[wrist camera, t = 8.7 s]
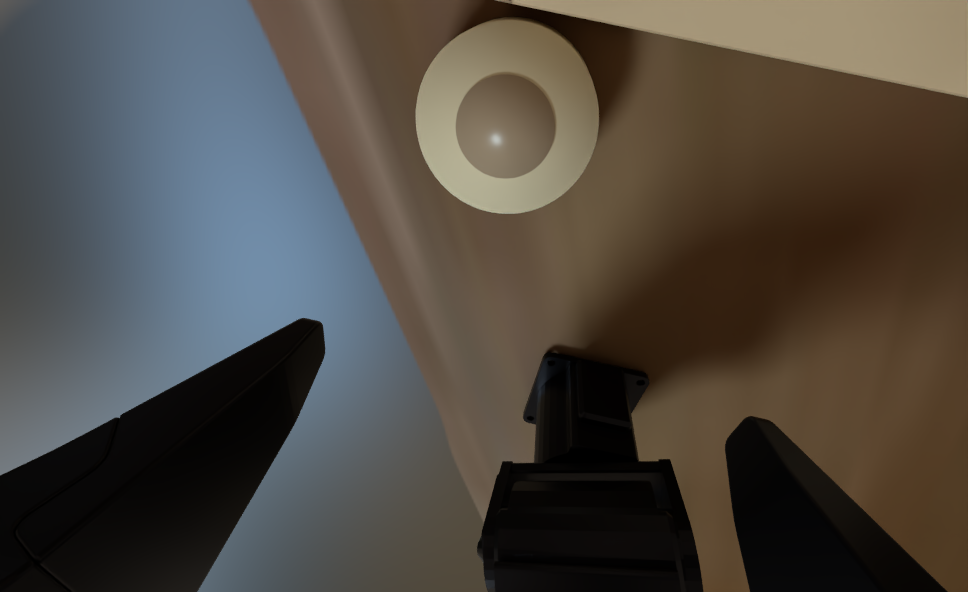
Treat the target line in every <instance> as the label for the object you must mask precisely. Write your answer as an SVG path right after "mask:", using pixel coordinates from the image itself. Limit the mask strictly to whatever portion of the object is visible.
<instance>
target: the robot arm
mask: <svg viewBox="0 0 968 592" xmlns="http://www.w3.org/2000/svg"><path fill="white" fill-rule="evenodd" d="M324 355H325V341H324V331H323V325H322V323H321V322H319V321H315V320H311V319H307V318H301V319H298V320H296V321H295V322H293V323H291V324H289V325H287V326H285V327H283V328H282V329H280V330H278V331H276V332H274V333H272V334H270V335H269V336H267V337H265V338H263V339H261V340H260V341H257V342H256V343H254V344H252V345H250V346H248V347H246V348H244V349H242V350H241V351H239V352H237V353H235V354H233V355H231V356H229V357H227V358H226V359H224V360H222V361H220V362H218V363H216V364H214V365H213V366H211V367H209V368H207V369H205V370H203V371H201V372H200V373H198V374H196V375H194V376H192V377H190V378H189V379H187V380H185V381H183V382H181V383H179V384H177V385H176V386H174V387H172V388H170V389H168V390H166V391H164V392H162V393H160V394H159V395H157V396H155V397H153V398H151V399H149V400H147V401H146V402H144V403H142V404H140V405H138V406H136V407H134V408H133V409H131V410H129V411H127V412H125V413H123V414H122V415H121V416H120V418H114V419H112V420H110V421H108V422H107V423H104V424H103V425H101V426H99V427H97V428H95V429H93V430H91V431H89V432H88V433H86V434H84V435H82V436H80V437H78V438H76V439H74V440H72V441H70V442H68V443H66V444H64V445H62V446H61V447H58V448H56V449H55V450H53V451H51V452H49V453H46V454H44V455H42V456H40V457H38V458H36V459H34V460H32V461H30V462H28V463H26V464H24V465H21V466H19V467H17V468H15V469H13V470H11V471H9V472H7V473H5V474H2V475H0V592H197V591H198V590H199V588H200V586H201V585H202V582H203V581H204V579H205V578H206V576H207V574H208V572H209V571H210V569H211V567H212V566H213V564H214V562H215V561H216V559H217V557H218V555H219V553H220V552H221V550H222V548H223V547H224V545H225V543H226V541H227V540H228V538H229V536H230V534H231V533H232V531H233V529H234V528H235V526H236V524H237V523H238V521H239V519H240V517H241V516H242V514H243V512H244V510H245V509H246V507H247V505H248V504H249V502H250V500H251V499H252V497H253V495H254V493H255V492H256V490H257V488H258V486H259V485H260V483H261V481H262V480H263V478H264V476H265V475H266V473H267V471H268V469H269V468H270V466H271V464H272V462H273V461H274V459H275V457H276V456H277V454H278V452H279V450H280V449H281V447H282V445H283V444H284V442H285V440H286V438H287V437H288V435H289V433H290V431H291V429H292V428H293V426H294V424H295V422H296V420H297V418H298V416H299V414H300V411H301V409H302V407H303V405H304V402H305V400H306V398H307V395H308V393H309V391H310V389H311V386H312V384H313V382H314V379H315V377H316V375H317V373H318V370H319V368H320V366H321V364H322V361H323V359H324ZM549 360H553V361H549ZM638 380H641V381H638ZM648 385H649V378H648V375H647V374H646V373H643V372H639V371H635V370H630V369H626V368H621V367H616V366H612V365H607V364H603V363H598V362H594V361H589V360H585V359H580V358H575V357H571V356H566V355H562V354H557V353H551V352H550V353H546V354H545V355H544V356H543V359H542V361H541V364H540V367H539V370H538V373H537V376H536V378H535V381H534V384H533V387H532V390H531V393H530V396H529V398H528V401H527V404H526V407H525V410H524V414H523V419H524V421H526V422H528V423H532V424H536V435H535V455H534V463H513V462H512V461H503V462H502V465H501V468H500V472H499V474H498V475H497V478H496V481H495V485H494V489H493V492H492V496H491V500H490V504H489V507H488V511H487V515H486V518H485V522H484V526H483V529H482V536H481V538H480V540H479V542H478V546H477V553H478V556H479V557H480V559H481V560H482V562H483V564H484V576H485V582H486V587H487V590H488V592H703V585H702V578H701V571H700V565H699V560H698V554H697V550H696V545H695V540H694V536H693V532H692V528H691V525H690V521H689V518H688V515H687V512H686V509H685V505H684V502H683V499H682V496H681V493H680V490H679V486H678V483H677V480H676V477H675V474H674V470H673V467H672V464H671V461H670V459H659V461H639V458H638V452H637V446H636V441H635V435H634V429H633V423H632V417H631V413H632V412H633V410H634V408H635V407H636V405H637V403H638V402H639V400H640V398H641V397H642V395H643V393H644V392H645V390H646V388H647V387H648ZM725 453H726V461H727V469H728V477H729V485H730V494H731V502H732V510H733V516H734V522H735V527H736V532H737V537H738V541H739V545H740V550H741V554H742V558H743V563H744V567H745V571H746V576H747V580H748V584H749V589H750V592H947V591H946V590H945V589H944V588H943V587H942V586H941V585H940V584H939V583H938V582H937V581H936V580H935V579H934V578H933V577H932V576H931V575H930V574H929V573H928V572H927V571H926V570H925V569H924V568H923V567H922V566H921V565H920V564H918V563H917V562H916V561H915V560H914V559H913V558H912V557H911V556H910V555H909V554H908V553H907V552H906V551H905V550H904V549H903V548H902V547H901V546H900V545H899V544H898V543H897V542H896V541H895V540H894V539H893V538H892V537H891V536H890V535H889V534H887V533H886V532H885V531H884V530H883V529H882V528H881V527H880V526H879V525H878V524H877V523H876V522H875V521H874V520H873V519H872V518H871V517H870V516H869V515H868V514H867V513H866V512H865V511H864V510H863V509H862V508H861V507H860V506H859V505H858V504H856V503H855V502H854V501H853V500H852V499H851V498H850V497H849V496H848V495H847V494H846V493H845V492H844V491H843V490H842V489H841V488H840V487H839V486H838V485H837V484H836V483H835V482H834V481H833V480H832V479H831V478H830V477H829V476H828V475H827V474H825V473H824V472H823V471H822V470H821V469H820V468H819V467H818V466H817V465H816V464H815V463H814V462H813V461H812V460H811V459H810V458H809V457H808V456H807V455H806V454H805V453H804V452H803V451H802V450H801V449H800V448H799V447H798V446H797V445H796V444H794V443H793V442H792V441H791V440H790V439H789V438H788V437H787V436H786V435H785V434H784V433H783V432H782V431H781V430H780V429H779V428H778V427H777V426H776V425H775V424H774V423H773V422H771V421H769V420H767V419H762V418H758V417H753V416H749V417H746V418H745V419H744V420H743V421H742V422H741V423H740V424H739V425H738V427H737V428H736V429H735V430H734V431H733V432H732V433H731V435H730V436H729V437H728V438H727V441H726V444H725Z"/></svg>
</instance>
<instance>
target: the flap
mask: <svg viewBox="0 0 968 592" xmlns="http://www.w3.org/2000/svg"><path fill="white" fill-rule="evenodd" d="M514 2H517V3H521V4H526V5H531V6H536V7H541V8H546V9H551V10H555V11H560V12H565V13H570V14H575V15H580V16H585V17H589V18H594V19H599V20H604V21H609V22H614V23H618V24H623V25H628V26H633V27H638V28H643V29H648V30H652V31H657V32H662V33H667V34H672V35H677V36H682V37H686V38H691V39H696V40H701V41H706V42H711V43H715V44H720V45H725V46H730V47H735V48H740V49H745V50H749V51H754V52H759V53H764V54H769V55H774V56H779V57H783V58H788V59H793V60H798V61H803V62H808V63H812V64H817V65H822V66H827V67H832V68H837V69H842V70H846V71H851V72H856V73H861V74H866V75H871V76H876V77H880V78H885V79H890V80H895V81H900V82H905V83H909V84H914V85H919V86H924V87H929V88H934V89H939V90H943V91H948V92H953V93H958V94H963V95H968V0H514Z"/></svg>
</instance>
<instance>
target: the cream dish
mask: <svg viewBox="0 0 968 592" xmlns="http://www.w3.org/2000/svg"><path fill="white" fill-rule="evenodd" d="M598 128H599V107H598V100H597V95H596V91H595V88H594V84H593V81H592V79H591V76H590V73H589V71H588V68H587V66H586V64H585V61H584V60H583V58H582V56H581V55H580V53H579V52H578V50H577V49H576V48H575V47H574V45H573V44H572V43H571V42H570V41H569V40H568V39H567V38H566V37H565V36H564V35H563V34H562V33H560V32H559V31H557V30H556V29H554V28H553V27H551V26H549V25H547V24H545V23H542V22H540V21H537V20H533V19H530V18H523V17H502V18H497V19H492V20H490V21H487V22H484V23H481V24H479V25H477V26H475V27H473V28H471V29H469V30H467V31H465V32H464V33H462V34H460V35H458V36H457V37H456V38H454V39H453V40H452V41H450V42H449V43H448V44H447V45H446V46H445V47H444V48H443V49H442V50H441V51H440V52H439V53H438V55H437V56H436V57H435V59H434V60H433V61H432V63H431V64H430V66H429V68H428V70H427V72H426V73H425V76H424V78H423V81H422V83H421V86H420V90H419V94H418V98H417V105H416V129H417V136H418V140H419V144H420V148H421V150H422V153H423V156H424V158H425V160H426V162H427V164H428V166H429V168H430V170H431V171H432V172H433V174H434V175H435V177H436V178H437V179H438V181H439V182H440V183H441V184H442V185H443V186H444V187H445V188H446V189H447V190H448V191H449V192H450V193H451V194H453V195H454V196H455V197H457V198H458V199H460V200H461V201H463V202H465V203H467V204H468V205H471V206H473V207H475V208H478V209H481V210H484V211H488V212H493V213H500V214H514V213H523V212H527V211H532V210H535V209H537V208H540V207H543V206H545V205H547V204H549V203H551V202H553V201H554V200H556V199H557V198H559V197H560V196H561V195H563V194H564V193H565V192H566V191H567V190H569V189H570V188H571V186H572V185H573V184H574V183H575V182H576V181H577V180H578V179H579V177H580V176H581V174H582V173H583V172H584V170H585V168H586V166H587V164H588V163H589V161H590V158H591V156H592V153H593V151H594V148H595V144H596V140H597V136H598Z"/></svg>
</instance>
